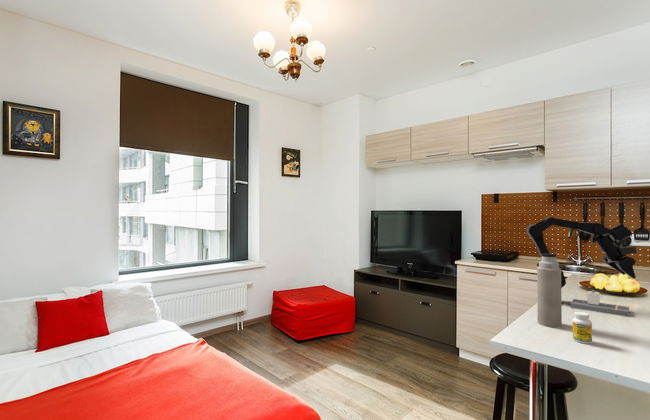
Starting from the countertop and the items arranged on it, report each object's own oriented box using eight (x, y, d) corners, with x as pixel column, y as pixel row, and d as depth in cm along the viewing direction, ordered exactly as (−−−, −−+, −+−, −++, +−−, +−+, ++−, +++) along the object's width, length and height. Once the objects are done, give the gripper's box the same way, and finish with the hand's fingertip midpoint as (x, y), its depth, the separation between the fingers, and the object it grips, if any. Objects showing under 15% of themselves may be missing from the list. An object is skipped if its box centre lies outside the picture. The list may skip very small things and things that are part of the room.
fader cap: (587, 303, 153) (587, 292, 153) (588, 301, 156) (588, 290, 156) (598, 305, 151) (598, 293, 151) (599, 303, 154) (599, 291, 154)
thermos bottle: (539, 319, 139) (539, 252, 139) (563, 323, 133) (562, 253, 133) (535, 324, 133) (534, 254, 133) (559, 329, 127) (559, 255, 128)
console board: (570, 307, 155) (570, 302, 155) (573, 303, 163) (573, 298, 163) (628, 316, 142) (628, 311, 142) (629, 311, 149) (629, 306, 149)
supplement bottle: (588, 339, 117) (588, 312, 117) (594, 345, 112) (594, 316, 112) (570, 337, 119) (570, 310, 119) (575, 342, 114) (575, 314, 114)
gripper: (636, 239, 146) (660, 271, 143) (617, 236, 164) (638, 265, 161) (609, 251, 149) (632, 283, 147) (593, 247, 167) (613, 275, 164)
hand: (629, 276), depth 154 cm, fingers open, 9 cm apart
